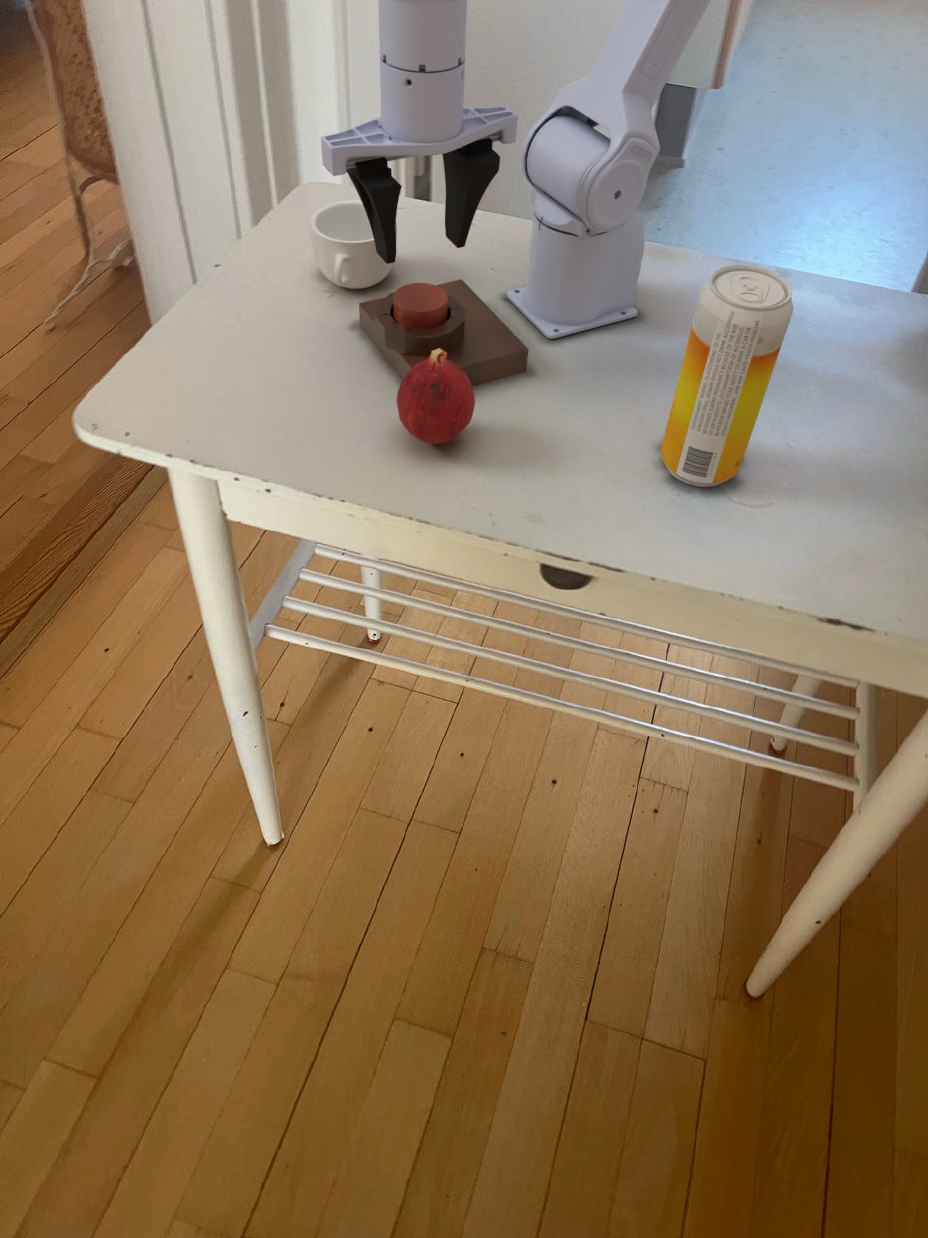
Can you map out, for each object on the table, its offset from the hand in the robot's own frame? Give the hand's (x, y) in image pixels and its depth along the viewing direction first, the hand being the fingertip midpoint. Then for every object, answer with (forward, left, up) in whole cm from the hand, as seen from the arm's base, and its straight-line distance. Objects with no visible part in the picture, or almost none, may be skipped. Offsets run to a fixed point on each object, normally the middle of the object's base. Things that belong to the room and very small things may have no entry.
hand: (421, 249), depth 74 cm
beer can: (-13, +22, -10) cm, 27 cm away
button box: (-2, 0, -9) cm, 10 cm away
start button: (0, 0, -6) cm, 6 cm away
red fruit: (+4, +11, -10) cm, 15 cm away
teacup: (+1, -13, -10) cm, 16 cm away
